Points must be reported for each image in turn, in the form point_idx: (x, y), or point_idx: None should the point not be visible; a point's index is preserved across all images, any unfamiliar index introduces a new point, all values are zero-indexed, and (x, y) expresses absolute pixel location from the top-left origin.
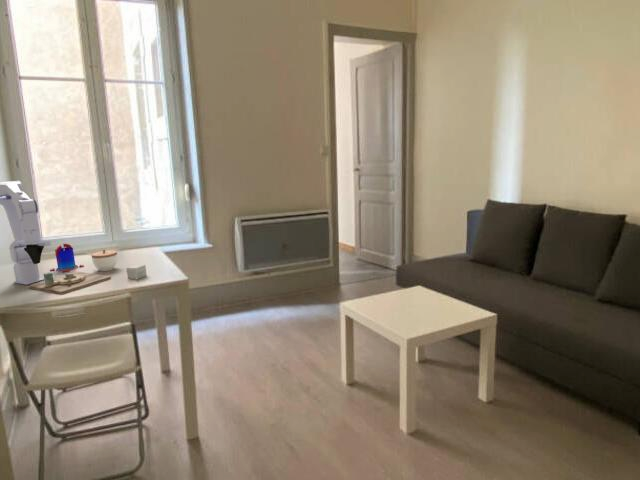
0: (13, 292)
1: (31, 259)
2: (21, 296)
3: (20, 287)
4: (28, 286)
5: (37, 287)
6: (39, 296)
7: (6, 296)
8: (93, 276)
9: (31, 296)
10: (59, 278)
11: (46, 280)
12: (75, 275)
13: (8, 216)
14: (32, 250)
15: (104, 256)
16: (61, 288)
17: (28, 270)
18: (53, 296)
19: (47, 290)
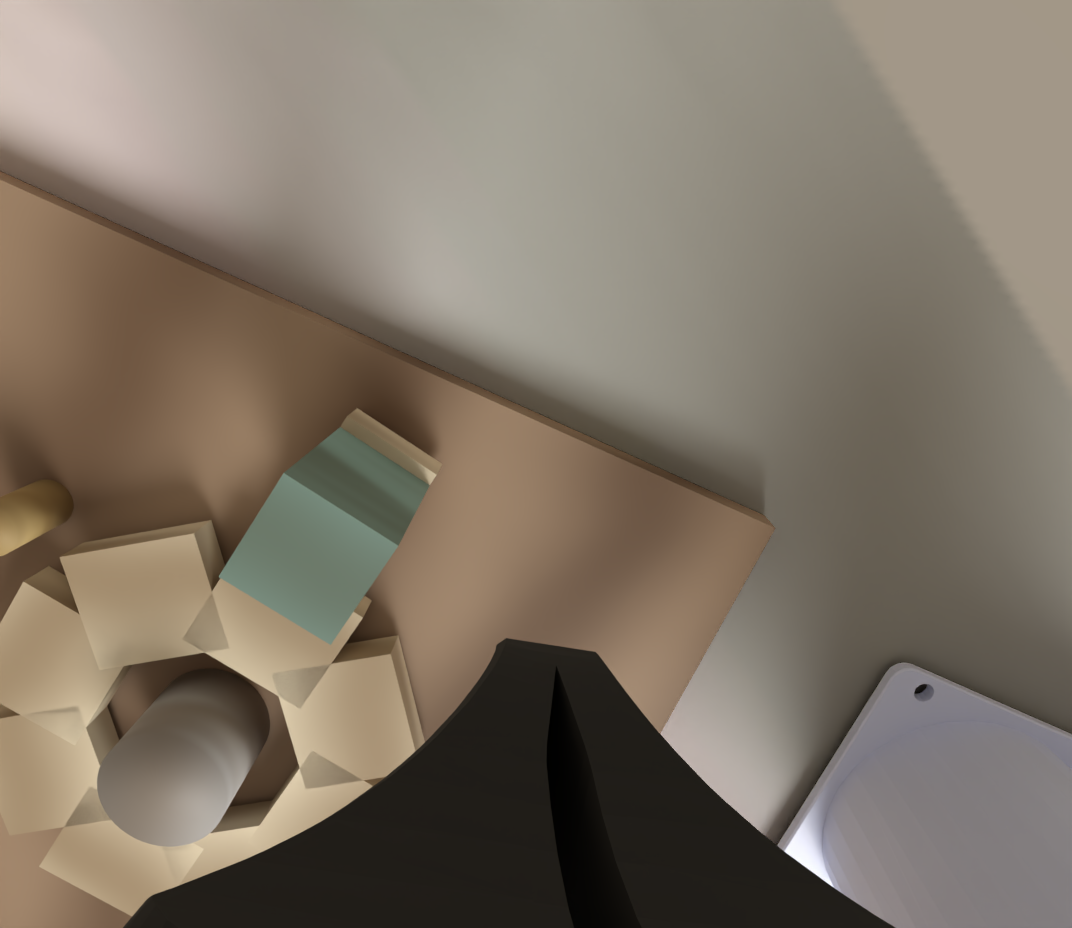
0: (879, 302)
1: (631, 705)
2: (589, 69)
3: (924, 554)
4: (768, 522)
5: (543, 422)
6: (259, 48)
7: (867, 86)
8: (4, 899)
9: (405, 57)
10: (359, 730)
11: (340, 452)
12: (196, 864)
13: None
14: (337, 886)
15: None
16: (56, 327)
17: (983, 886)
18: (4, 32)
19: (298, 309)
